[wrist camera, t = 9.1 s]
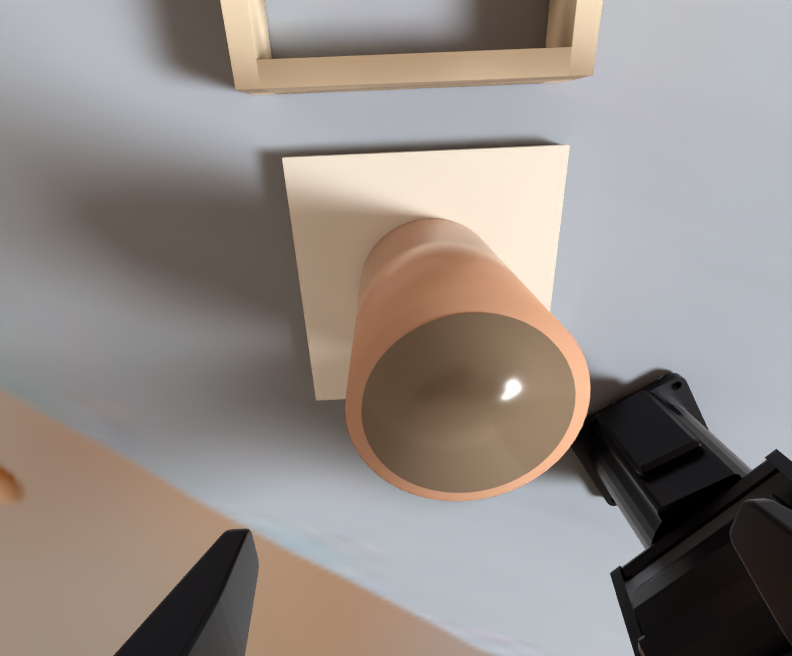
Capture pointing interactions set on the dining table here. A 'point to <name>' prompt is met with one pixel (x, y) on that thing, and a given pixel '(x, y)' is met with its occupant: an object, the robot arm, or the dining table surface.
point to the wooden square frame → (411, 58)
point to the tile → (407, 201)
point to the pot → (458, 368)
